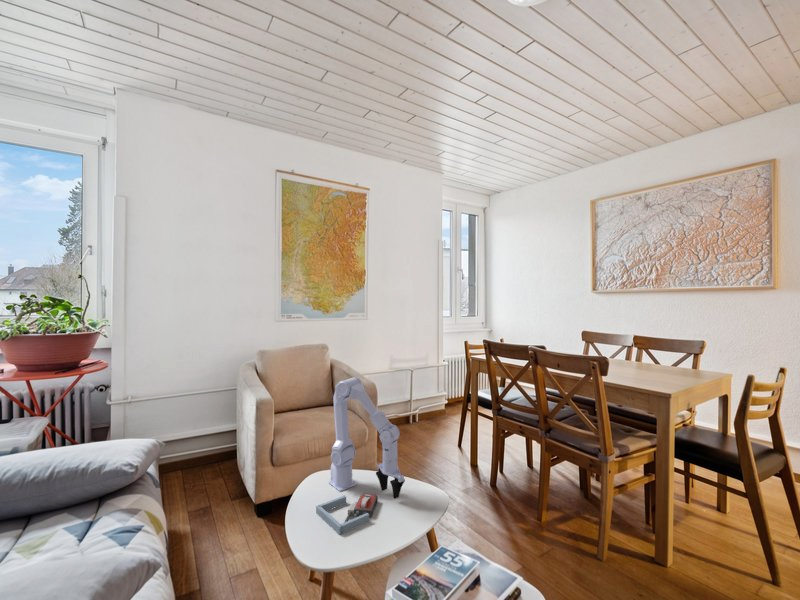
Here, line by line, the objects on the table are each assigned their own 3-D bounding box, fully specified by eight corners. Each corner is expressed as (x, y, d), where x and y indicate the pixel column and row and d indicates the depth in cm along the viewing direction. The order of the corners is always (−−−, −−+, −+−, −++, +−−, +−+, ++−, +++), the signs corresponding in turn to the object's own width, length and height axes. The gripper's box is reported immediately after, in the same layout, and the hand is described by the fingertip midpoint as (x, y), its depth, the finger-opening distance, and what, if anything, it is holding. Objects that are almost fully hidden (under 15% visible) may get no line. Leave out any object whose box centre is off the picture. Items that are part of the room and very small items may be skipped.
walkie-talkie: (356, 498, 146) (340, 529, 126) (356, 487, 146) (340, 516, 126) (379, 500, 145) (366, 532, 125) (379, 488, 145) (366, 518, 125)
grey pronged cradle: (316, 513, 136) (316, 506, 136) (344, 502, 143) (344, 495, 143) (339, 534, 123) (339, 527, 123) (369, 521, 130) (369, 514, 130)
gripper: (410, 461, 143) (410, 497, 143) (386, 450, 155) (387, 483, 155) (395, 467, 139) (395, 504, 139) (372, 454, 150) (372, 488, 150)
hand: (390, 493), depth 146 cm, fingers open, 7 cm apart
